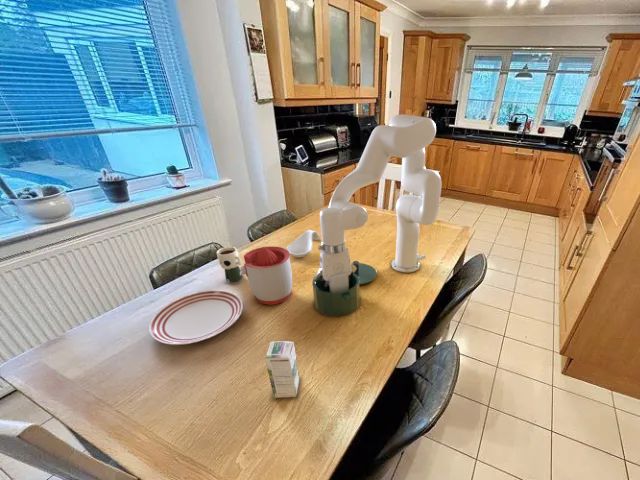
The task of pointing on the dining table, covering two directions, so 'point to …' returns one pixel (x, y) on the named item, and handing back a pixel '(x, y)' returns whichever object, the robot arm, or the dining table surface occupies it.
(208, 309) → the dinner plate
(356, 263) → the lid
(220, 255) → the character mug
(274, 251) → the citrus juicer
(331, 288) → the small box
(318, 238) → the spoon rest
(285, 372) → the syrup box
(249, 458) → the dining table surface
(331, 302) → the pot
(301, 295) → the dining table surface
